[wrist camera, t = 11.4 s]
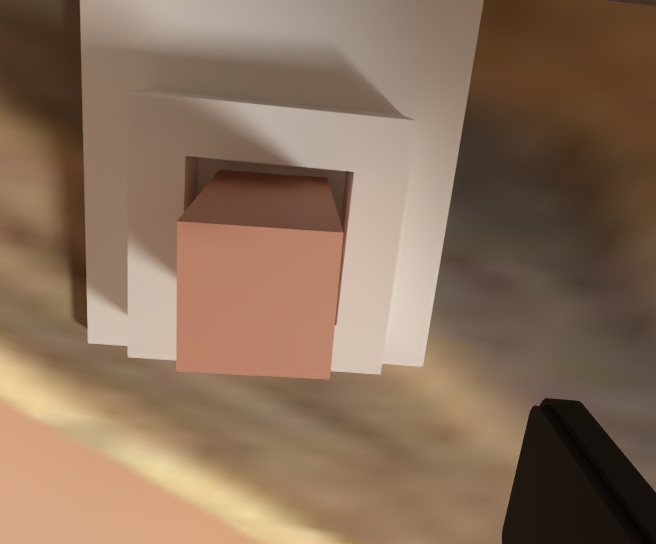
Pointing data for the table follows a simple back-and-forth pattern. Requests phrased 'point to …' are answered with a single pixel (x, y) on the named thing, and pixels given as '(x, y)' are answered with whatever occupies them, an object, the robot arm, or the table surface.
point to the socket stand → (274, 148)
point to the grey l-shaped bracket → (639, 2)
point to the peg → (258, 276)
